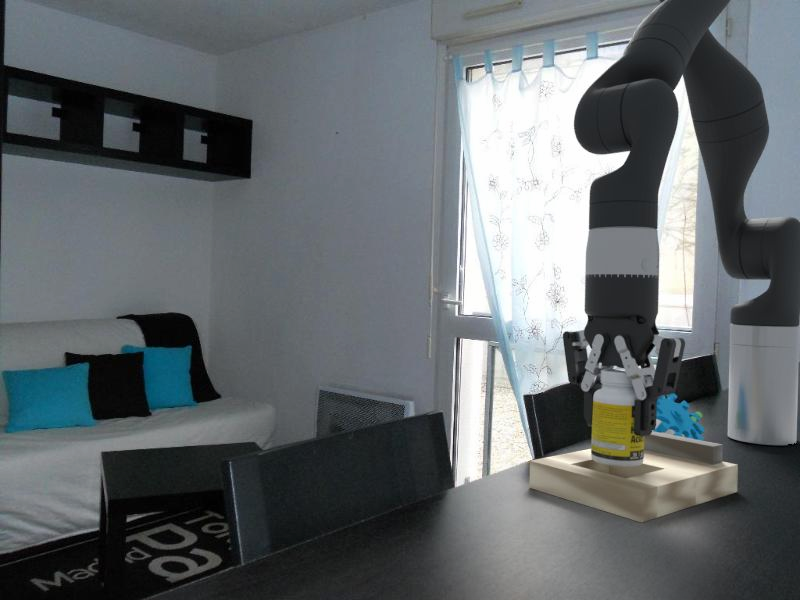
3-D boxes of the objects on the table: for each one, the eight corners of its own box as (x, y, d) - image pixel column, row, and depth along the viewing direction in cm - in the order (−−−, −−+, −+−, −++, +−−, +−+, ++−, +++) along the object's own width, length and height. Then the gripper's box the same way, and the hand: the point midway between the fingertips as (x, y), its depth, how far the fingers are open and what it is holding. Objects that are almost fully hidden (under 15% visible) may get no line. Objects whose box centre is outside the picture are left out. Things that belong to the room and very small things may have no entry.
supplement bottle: (637, 471, 72) (639, 375, 71) (584, 463, 74) (586, 371, 74) (649, 460, 76) (651, 370, 76) (599, 453, 79) (601, 366, 79)
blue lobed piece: (672, 438, 97) (639, 381, 104) (645, 462, 101) (614, 405, 107) (724, 443, 102) (689, 388, 109) (697, 465, 106) (664, 411, 112)
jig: (626, 465, 88) (627, 425, 88) (737, 491, 77) (738, 446, 77) (529, 487, 77) (530, 442, 77) (641, 522, 66) (642, 469, 66)
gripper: (704, 272, 72) (700, 438, 72) (588, 274, 83) (585, 416, 83) (662, 270, 67) (658, 447, 67) (546, 272, 79) (543, 423, 79)
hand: (618, 429), depth 75 cm, fingers closed on supplement bottle, 5 cm apart
